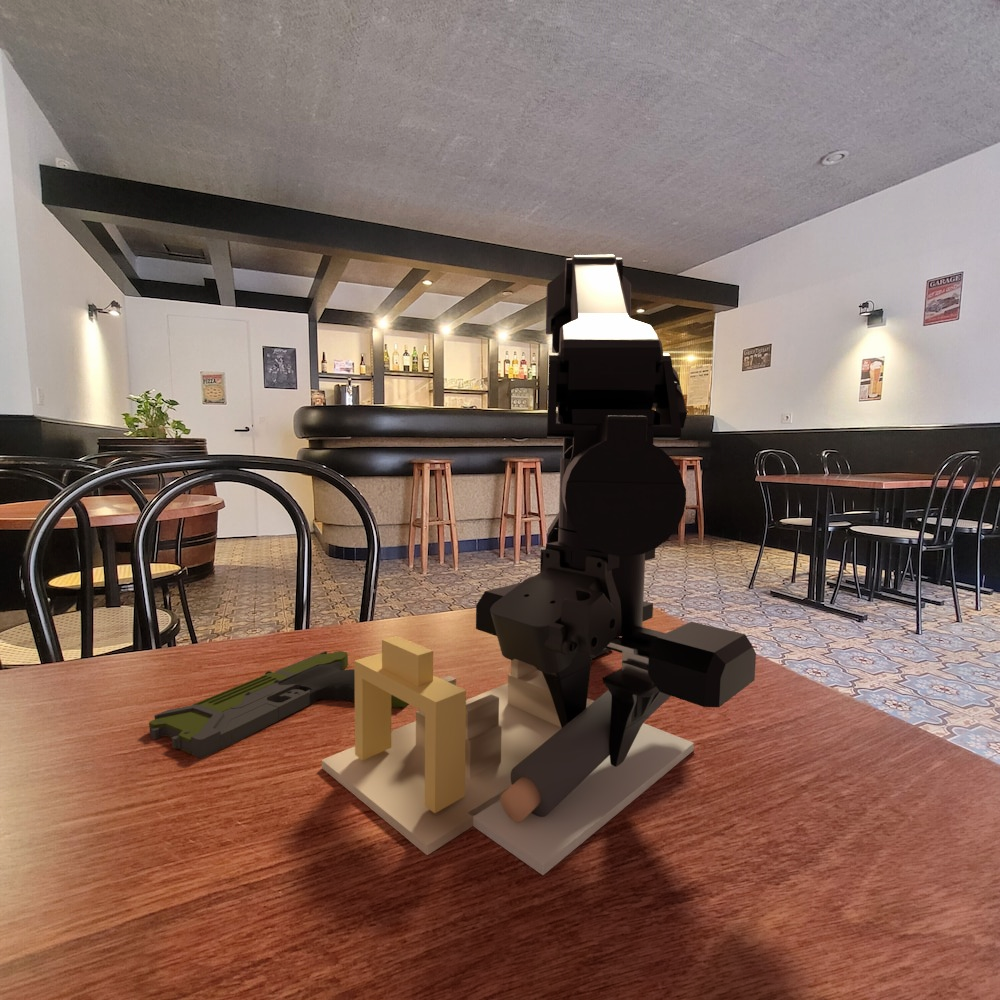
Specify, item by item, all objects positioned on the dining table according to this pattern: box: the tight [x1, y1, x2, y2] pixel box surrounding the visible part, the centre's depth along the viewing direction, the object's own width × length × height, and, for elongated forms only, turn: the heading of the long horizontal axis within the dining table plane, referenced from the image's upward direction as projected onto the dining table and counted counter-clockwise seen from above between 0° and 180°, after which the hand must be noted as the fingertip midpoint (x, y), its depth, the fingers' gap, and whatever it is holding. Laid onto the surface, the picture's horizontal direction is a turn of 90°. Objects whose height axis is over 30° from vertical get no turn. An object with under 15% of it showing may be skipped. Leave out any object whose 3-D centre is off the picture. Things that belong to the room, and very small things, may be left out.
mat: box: [470, 722, 695, 876], centre depth 38 cm, size 18×6×1 cm, turn 136°
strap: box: [354, 635, 467, 813], centre depth 37 cm, size 2×9×9 cm, turn 46°
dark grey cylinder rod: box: [501, 689, 672, 822], centre depth 39 cm, size 19×3×3 cm, turn 134°
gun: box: [148, 650, 409, 759], centre depth 48 cm, size 2×19×15 cm
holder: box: [321, 659, 595, 856], centre depth 43 cm, size 22×12×5 cm, turn 136°
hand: (594, 753), depth 38 cm, fingers closed on dark grey cylinder rod, 3 cm apart
